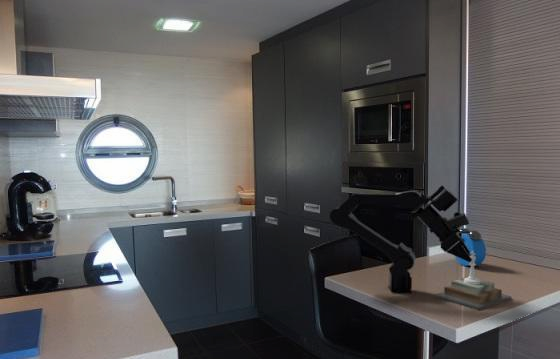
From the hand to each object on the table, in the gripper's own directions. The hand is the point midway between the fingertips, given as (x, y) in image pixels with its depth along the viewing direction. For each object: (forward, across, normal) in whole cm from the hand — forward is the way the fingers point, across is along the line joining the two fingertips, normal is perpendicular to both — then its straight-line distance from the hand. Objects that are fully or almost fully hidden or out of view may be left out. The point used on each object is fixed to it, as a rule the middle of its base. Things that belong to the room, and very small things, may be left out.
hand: (470, 257), depth 138 cm
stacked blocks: (+10, 0, +8) cm, 13 cm away
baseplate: (+10, 0, +8) cm, 13 cm away
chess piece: (+6, 0, +5) cm, 8 cm away
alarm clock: (+10, +45, +9) cm, 47 cm away
